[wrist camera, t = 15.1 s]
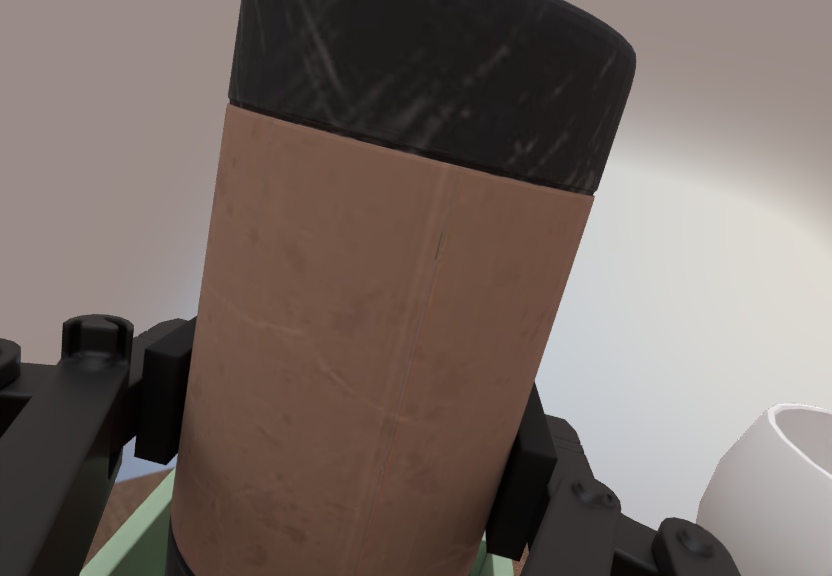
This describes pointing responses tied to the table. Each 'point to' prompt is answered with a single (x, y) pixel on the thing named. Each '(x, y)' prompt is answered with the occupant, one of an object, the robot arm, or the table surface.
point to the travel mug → (383, 276)
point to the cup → (776, 495)
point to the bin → (148, 536)
